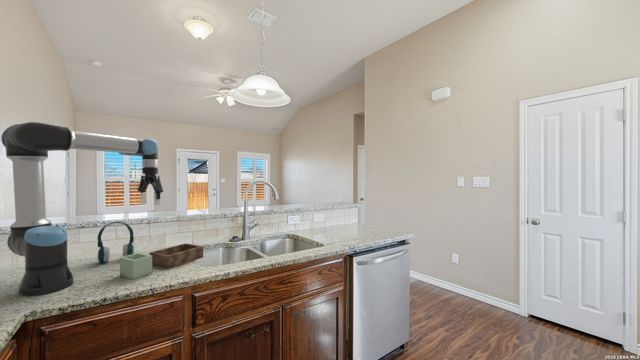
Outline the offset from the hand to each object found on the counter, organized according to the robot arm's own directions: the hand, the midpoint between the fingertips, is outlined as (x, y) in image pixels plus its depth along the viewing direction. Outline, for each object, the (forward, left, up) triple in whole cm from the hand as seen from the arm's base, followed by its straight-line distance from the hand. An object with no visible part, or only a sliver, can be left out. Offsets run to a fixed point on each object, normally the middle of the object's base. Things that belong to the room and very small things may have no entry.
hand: (150, 204), depth 155 cm
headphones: (-17, +1, -28) cm, 33 cm away
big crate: (-3, -27, -27) cm, 39 cm away
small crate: (-24, -28, -27) cm, 46 cm away
